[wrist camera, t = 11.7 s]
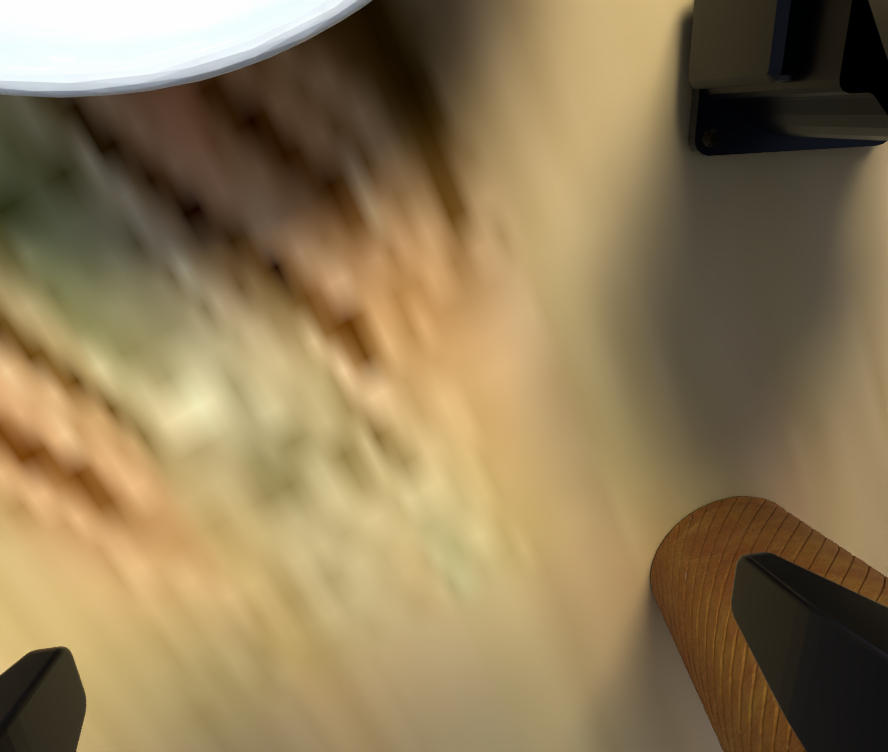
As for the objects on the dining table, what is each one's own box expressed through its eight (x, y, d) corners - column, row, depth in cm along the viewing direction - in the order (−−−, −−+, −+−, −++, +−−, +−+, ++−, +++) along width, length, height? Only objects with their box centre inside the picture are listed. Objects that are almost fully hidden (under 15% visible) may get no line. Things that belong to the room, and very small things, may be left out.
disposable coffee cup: (591, 658, 27) (759, 1026, 16) (638, 454, 24) (892, 744, 13) (795, 652, 29) (1075, 983, 18) (867, 460, 26) (1266, 723, 14)
